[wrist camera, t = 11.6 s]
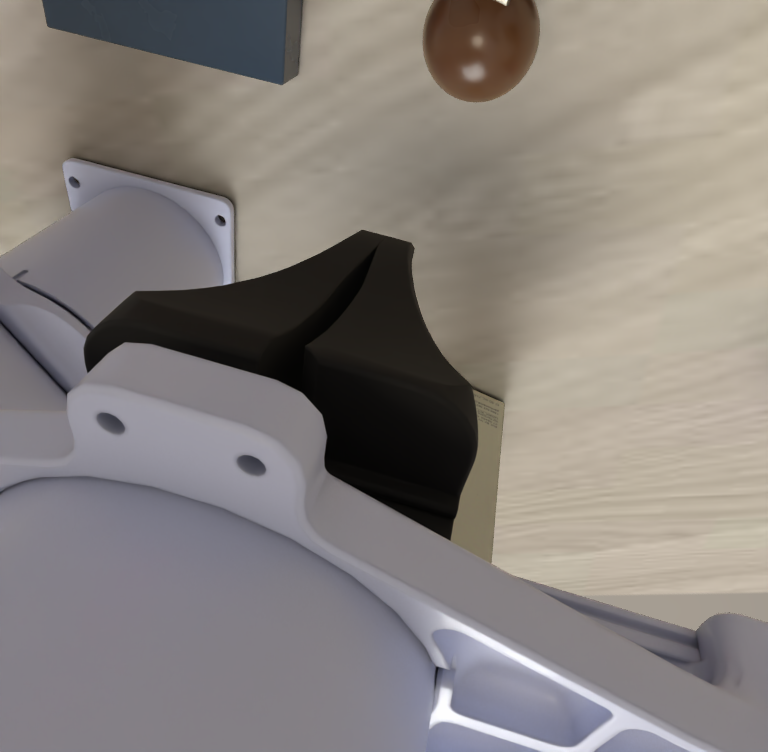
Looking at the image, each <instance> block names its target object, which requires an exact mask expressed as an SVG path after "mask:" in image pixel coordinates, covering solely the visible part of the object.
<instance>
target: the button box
mask: <svg viewBox="0 0 768 752" xmlns="http://www.w3.org/2000/svg"><path fill="white" fill-rule="evenodd" d="M42 2H43V7H44V12H45V17H46V22H47V26H48V27H50V28H54V29H58V30H62V31H66V32H70V33H74V34H78V35H82V36H86V37H90V38H94V39H98V40H102V41H106V42H110V43H114V44H118V45H122V46H126V47H130V48H134V49H138V50H142V51H146V52H150V53H154V54H158V55H163V56H167V57H171V58H175V59H179V60H183V61H187V62H191V63H195V64H199V65H203V66H207V67H211V68H215V69H219V70H223V71H227V72H231V73H235V74H239V75H243V76H247V77H251V78H255V79H259V80H263V81H267V82H271V83H275V84H279V85H283V84H285V83H286V82H288V81H289V80H291V79H293V78H294V77H296V76H297V75H298V64H299V48H300V32H301V16H302V0H42Z"/></svg>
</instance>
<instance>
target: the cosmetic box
mask: <svg viewBox="0 0 768 752" xmlns="http://www.w3.org/2000/svg"><path fill="white" fill-rule="evenodd" d="M473 393H474V399H475V405H476V412H477V420H478V450H477V455H476V459H475V462H474V464H473V467H472V469H471V471H470V474H469V476H468V479H467V481H466V483H465V486H464V488H463V490H462V493H461V495H460V501H459V507H458V512H457V515H456V518H455V519H454V523H453V529H452V535H451V542H453V543H455V544H457V545H458V546H460V547H462V548H464V549H466V550H467V551H469V552H471V553H473V554H475V555H477V556H478V557H480V558H482V559H484V560H486V561H487V562H489V563H491V562H492V551H493V538H494V526H495V513H496V501H497V489H498V477H499V465H500V453H501V442H502V431H503V418H504V407H505V405H504V403H502V402H500V401H498V400H496V399H493V398H491V397H489V396H487V395H484V394H482V393H480V392H478V391H475V390H473Z"/></svg>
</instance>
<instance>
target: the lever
mask: <svg viewBox="0 0 768 752" xmlns="http://www.w3.org/2000/svg"><path fill="white" fill-rule="evenodd" d="M539 36H540V21H539V15H538V10H537V7H536V4H535V1H534V0H434V1H433V3H432V5H431V7H430V9H429V11H428V14H427V17H426V20H425V24H424V30H423V51H424V57H425V61H426V64H427V67H428V69H429V72H430V73H431V75H432V77H433V79H434V80H435V81H436V83H437V84H438V85H439V86H440V87H441V88H442V89H443V90H444V91H445V92H447V93H448V94H449V95H451V96H453V97H455V98H457V99H459V100H463V101H467V102H485V101H490V100H493V99H496V98H498V97H500V96H502V95H504V94H506V93H507V92H509V91H510V90H511V89H513V88H514V87H515V86H516V85H517V84H518V83H519V82H520V81H521V80H522V78H523V77H524V76H525V75H526V73H527V71H528V70H529V68H530V66H531V64H532V62H533V60H534V58H535V55H536V52H537V48H538V44H539Z"/></svg>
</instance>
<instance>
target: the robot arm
mask: <svg viewBox="0 0 768 752" xmlns="http://www.w3.org/2000/svg"><path fill="white" fill-rule="evenodd" d="M62 169H63V173H64V178H65V183H66V188H67V192H68V197H69V202H70V207H71V211H72V212H71V213H69V214H68V215H66V216H64V217H63V218H61V219H60V220H58V221H56V222H55V223H53V224H52V225H50V226H48V227H47V228H45V229H44V230H42V231H40V232H39V233H37V234H36V235H34V236H33V237H31V238H29V239H28V240H26V241H25V242H23V243H21V244H20V245H18V246H17V247H15V248H13V249H12V250H10V251H9V252H7V253H5V254H4V255H2V256H1V257H0V752H768V622H764V621H761V620H758V619H754V618H751V617H748V616H744V615H741V614H735V613H720V614H716V615H714V616H712V617H710V618H708V619H707V620H706V621H705V622H704V623H702V624H701V626H700V627H699V628H698V629H697V631H694V630H691V629H688V628H685V627H681V626H678V625H675V624H671V623H668V622H665V621H661V620H658V619H654V618H651V617H648V616H645V615H642V614H638V613H635V612H632V611H628V610H625V609H622V608H618V607H615V606H612V605H609V604H605V603H602V602H599V601H595V600H592V599H589V598H586V597H582V596H579V595H576V594H572V593H569V592H566V591H562V590H559V589H556V588H553V587H549V586H546V585H543V584H539V583H536V582H533V581H529V580H526V579H523V578H520V577H516V576H513V575H511V574H509V573H507V572H505V571H504V570H502V569H500V568H498V567H496V566H495V565H493V564H491V563H489V562H487V561H486V560H484V559H482V558H480V557H478V556H477V555H475V554H473V553H471V552H469V551H467V550H466V549H464V548H462V547H460V546H458V545H457V544H455V543H453V542H451V535H452V529H453V523H454V519H455V518H456V515H457V512H458V507H459V501H460V495H461V493H462V490H463V488H464V486H465V483H466V481H467V479H468V476H469V474H470V471H471V469H472V467H473V464H474V462H475V459H476V455H477V450H478V420H477V412H476V405H475V399H474V393H473V389H472V386H471V385H470V384H469V383H468V382H467V381H466V380H465V379H464V378H463V377H462V376H461V375H460V374H459V373H458V372H457V371H456V370H455V369H454V368H453V367H452V366H451V365H450V364H449V362H448V361H447V360H446V359H445V357H444V356H443V355H442V353H441V352H440V350H439V349H438V347H437V346H436V344H435V342H434V341H433V339H432V337H431V335H430V333H429V331H428V329H427V327H426V324H425V322H424V320H423V317H422V314H421V312H420V308H419V305H418V301H417V298H416V294H415V289H414V283H413V276H412V258H413V253H414V249H415V248H414V246H413V245H412V243H411V242H407V241H403V240H399V239H396V238H392V237H388V236H384V235H380V234H377V233H373V232H369V231H365V230H361V231H359V232H357V233H355V234H354V235H352V236H350V237H348V238H347V239H345V240H343V241H341V242H340V243H338V244H336V245H334V246H333V247H331V248H329V249H327V250H325V251H323V252H321V253H320V254H318V255H315V256H313V257H311V258H309V259H307V260H304V261H302V262H300V263H298V264H296V265H294V266H291V267H289V268H286V269H283V270H281V271H278V272H275V273H272V274H268V275H265V276H262V277H259V278H255V279H250V280H246V281H241V282H236V283H235V273H234V208H233V205H232V203H231V202H230V201H229V200H228V199H227V198H225V197H222V196H218V195H214V194H211V193H207V192H203V191H199V190H195V189H191V188H188V187H184V186H180V185H176V184H172V183H168V182H165V181H161V180H157V179H153V178H149V177H145V176H142V175H138V174H134V173H130V172H126V171H122V170H119V169H115V168H111V167H107V166H103V165H99V164H96V163H92V162H88V161H84V160H80V159H76V158H70V159H68V160H66V161H64V162H63V164H62ZM74 177H75V178H76V179H77V180H78V181H79V183H80V184H78V183H77V182H76V181H75V178H74ZM219 215H221V216H222V217H224V219H225V221H226V223H224V222H222V221H221V220H220V219H219Z"/></svg>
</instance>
